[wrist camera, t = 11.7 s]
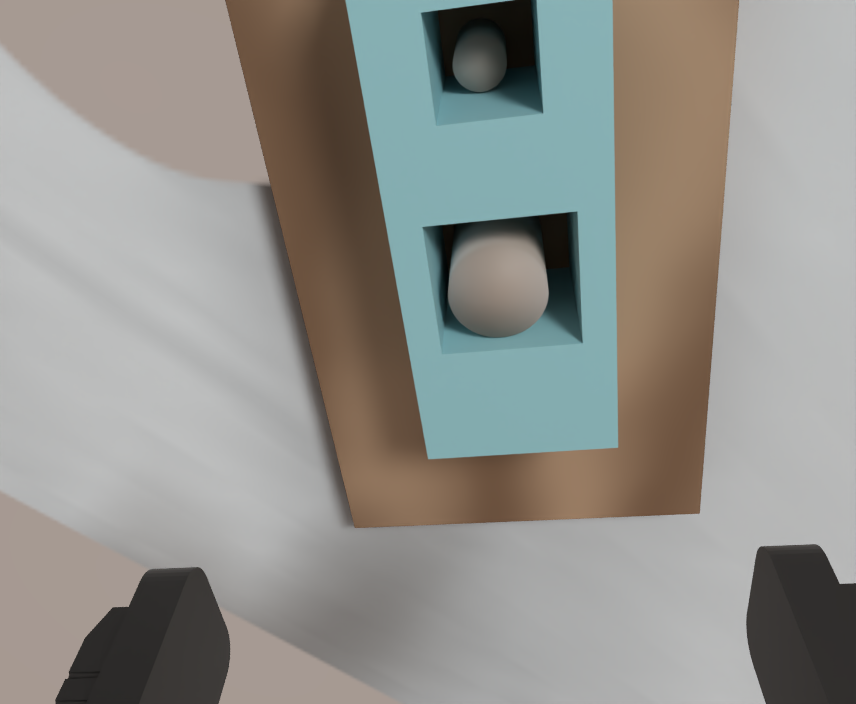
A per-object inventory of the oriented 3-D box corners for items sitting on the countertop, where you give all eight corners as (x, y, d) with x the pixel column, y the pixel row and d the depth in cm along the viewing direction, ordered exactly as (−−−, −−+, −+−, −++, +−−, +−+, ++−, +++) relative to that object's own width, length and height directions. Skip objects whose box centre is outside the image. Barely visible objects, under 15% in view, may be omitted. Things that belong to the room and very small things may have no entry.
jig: (360, 498, 30) (339, 606, 26) (194, -215, 18) (104, -229, 14) (690, 483, 28) (724, 595, 24) (743, -307, 17) (826, -353, 12)
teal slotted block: (437, 374, 25) (428, 459, 21) (360, -103, 18) (329, -89, 14) (600, 362, 24) (618, 447, 21) (587, -139, 17) (611, -133, 14)
